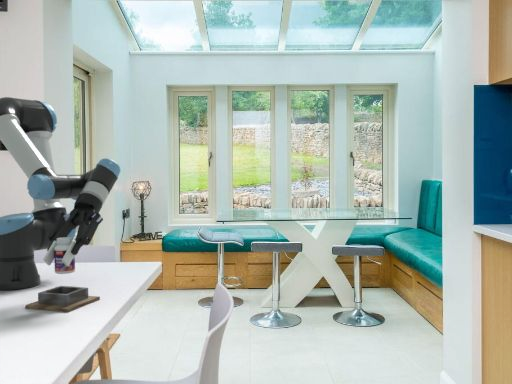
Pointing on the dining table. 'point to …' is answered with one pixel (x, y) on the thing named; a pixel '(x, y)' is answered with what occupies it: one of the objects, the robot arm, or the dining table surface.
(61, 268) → the pill bottle
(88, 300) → the square framed tray
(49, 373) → the dining table surface
